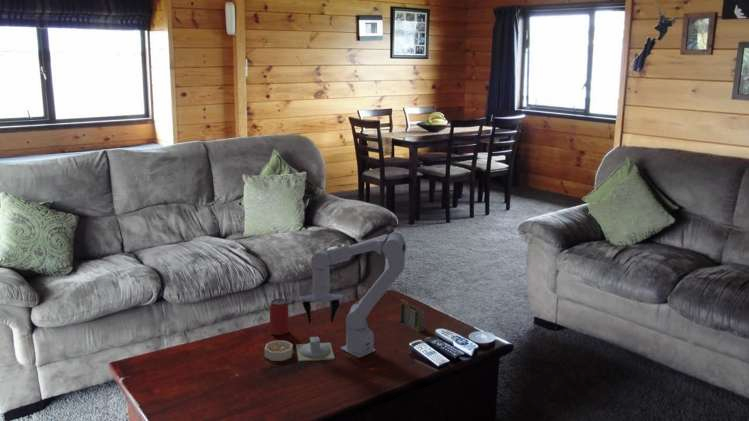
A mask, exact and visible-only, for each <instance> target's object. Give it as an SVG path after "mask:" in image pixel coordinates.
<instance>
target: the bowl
mask: <svg viewBox="0 0 749 421" xmlns="http://www.w3.org/2000/svg"><path fill="white" fill-rule="evenodd" d="M293 345H294V344H293V343H291V342H290V341H287V340H273V341H270V342H267V343H265V346H264V358H266V359H268V360H270V361H271V362H272V361H273V362H274V361H275V362H276V361H280V362H283V361H286V360H289V359H291V358H292V356H293V353H294V347H293Z"/></svg>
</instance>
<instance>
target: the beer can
mask: <svg viewBox="0 0 749 421" xmlns="http://www.w3.org/2000/svg"><path fill="white" fill-rule="evenodd" d="M269 329H270V330H269V332H270V333H271V334H272V335H273V336H278V337H279V336H285V335H287V333H289V304H288V300H286V299H283V298H275V299H273V300H271V302H270V306H269Z"/></svg>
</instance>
